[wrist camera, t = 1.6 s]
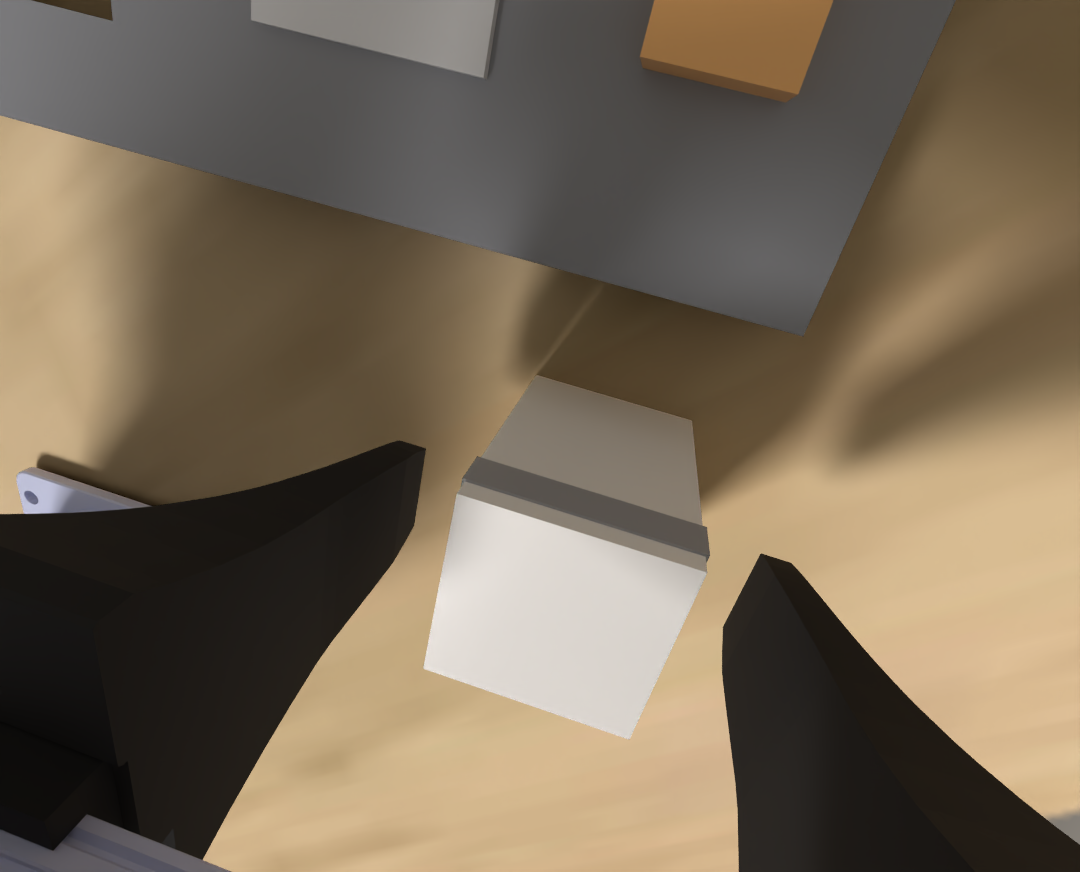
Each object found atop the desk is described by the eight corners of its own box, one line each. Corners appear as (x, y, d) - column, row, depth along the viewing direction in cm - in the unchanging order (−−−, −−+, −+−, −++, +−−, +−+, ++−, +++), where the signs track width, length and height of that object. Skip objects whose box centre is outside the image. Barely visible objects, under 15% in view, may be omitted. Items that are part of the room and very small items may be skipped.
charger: (643, 549, 16) (631, 742, 10) (503, 504, 16) (419, 669, 11) (695, 418, 14) (711, 571, 8) (535, 372, 14) (454, 490, 9)
